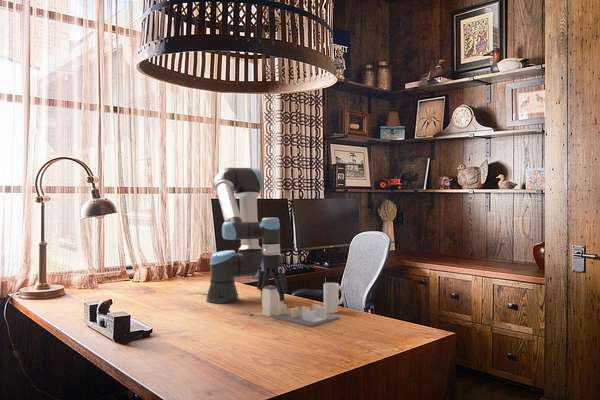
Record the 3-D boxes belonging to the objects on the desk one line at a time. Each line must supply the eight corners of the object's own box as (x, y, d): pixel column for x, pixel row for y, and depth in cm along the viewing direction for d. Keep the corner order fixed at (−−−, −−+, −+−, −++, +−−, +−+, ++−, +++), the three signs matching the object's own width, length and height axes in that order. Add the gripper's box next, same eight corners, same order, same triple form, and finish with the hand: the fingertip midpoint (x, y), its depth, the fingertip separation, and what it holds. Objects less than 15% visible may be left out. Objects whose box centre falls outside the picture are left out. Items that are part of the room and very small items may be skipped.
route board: (272, 317, 204) (272, 304, 204) (301, 310, 218) (301, 298, 218) (311, 327, 191) (311, 313, 190) (339, 318, 204) (339, 305, 204)
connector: (262, 314, 209) (262, 286, 209) (269, 312, 213) (270, 284, 213) (269, 316, 206) (270, 287, 206) (277, 314, 210) (277, 286, 210)
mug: (327, 313, 212) (328, 285, 212) (320, 310, 218) (320, 283, 218) (347, 311, 216) (348, 284, 216) (340, 308, 222) (340, 281, 222)
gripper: (247, 253, 213) (248, 306, 213) (283, 255, 199) (285, 312, 199) (260, 252, 219) (261, 303, 218) (296, 254, 205) (297, 308, 204)
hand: (272, 307), depth 209 cm, fingers open, 9 cm apart
